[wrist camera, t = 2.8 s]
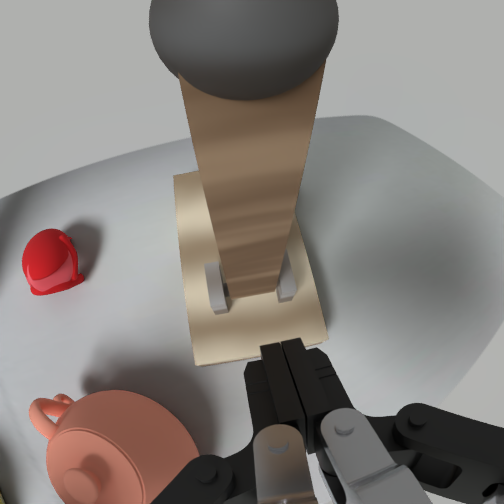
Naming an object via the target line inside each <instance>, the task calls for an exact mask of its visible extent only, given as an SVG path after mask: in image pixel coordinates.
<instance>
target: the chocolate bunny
mask: <svg viewBox="0 0 504 504" xmlns="http://www.w3.org/2000/svg"><path fill="white" fill-rule="evenodd" d="M0 504H5V502H4V500H3V497H2V495H1V493H0Z"/></svg>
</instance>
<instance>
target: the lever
mask: <svg viewBox="0 0 504 504" xmlns="http://www.w3.org/2000/svg"><path fill="white" fill-rule="evenodd" d="M338 22H339V15H338V6H337V2H336V0H152V1H151V6H150V11H149V28H150V35H151V38H152V41H153V45H154V47H155V50H156V52H157V53H158V55H159V58H160V59H161V60H162V62H163V63H164V64H165V66H166V67H167V68H168V69H169V71H170V72H172V73H173V74H174V75H175V76H176V77H177V78H178V79H179V81H180V85H181V90H182V95H183V100H184V105H185V109H186V114H187V119H188V123H189V128H190V133H191V137H192V142H193V146H194V151H195V155H196V160H197V164H198V168H199V173H200V177H201V181H202V185H203V190H204V194H205V198H206V202H207V207H208V211H209V215H210V219H211V223H212V227H213V231H214V235H215V239H216V243H217V247H218V251H219V255H220V259H221V263H222V267H223V271H224V275H225V278H226V282H227V286H228V290H229V294H230V298H231V300H233V299H238V298H244V297H249V296H254V295H260V294H265V293H270V292H275V289H276V285H277V281H278V277H279V273H280V269H281V265H282V261H283V257H284V253H285V249H286V245H287V241H288V236H289V232H290V228H291V224H292V219H293V215H294V211H295V206H296V202H297V198H298V193H299V189H300V184H301V180H302V175H303V171H304V166H305V162H306V157H307V153H308V148H309V143H310V138H311V134H312V129H313V124H314V119H315V114H316V109H317V104H318V100H319V95H320V89H321V84H322V78H323V74H324V68H325V63H326V58H327V57H328V55H329V53H330V51H331V49H332V47H333V45H334V43H335V39H336V35H337V30H338Z"/></svg>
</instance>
